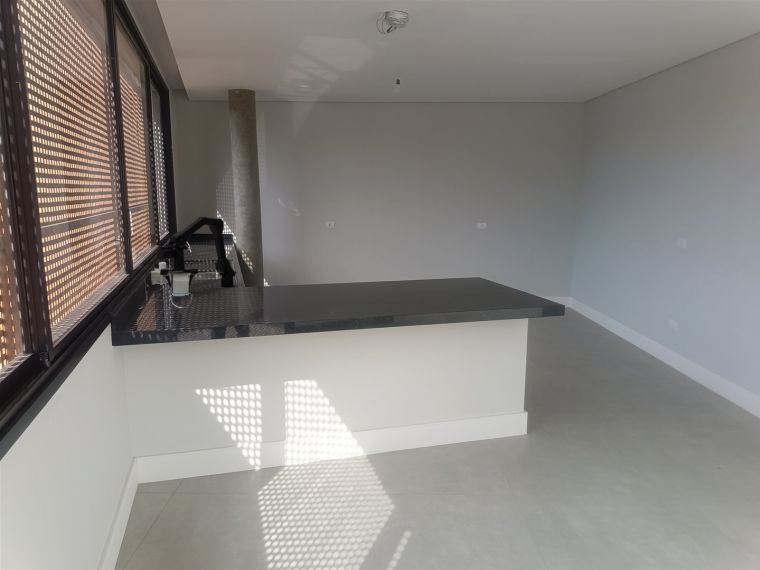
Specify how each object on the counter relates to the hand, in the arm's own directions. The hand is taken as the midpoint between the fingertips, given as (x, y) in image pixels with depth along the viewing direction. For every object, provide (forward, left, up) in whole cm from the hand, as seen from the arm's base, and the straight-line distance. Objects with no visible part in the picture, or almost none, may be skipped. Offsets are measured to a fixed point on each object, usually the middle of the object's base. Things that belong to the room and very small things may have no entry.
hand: (180, 287), depth 280 cm
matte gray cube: (0, -4, -2) cm, 4 cm away
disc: (0, 0, -4) cm, 4 cm away
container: (+12, -37, -4) cm, 39 cm away
